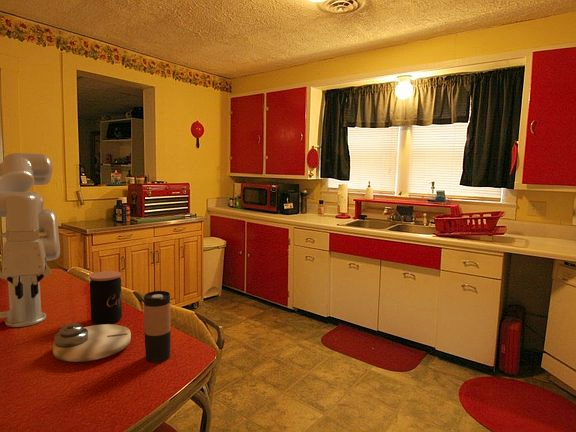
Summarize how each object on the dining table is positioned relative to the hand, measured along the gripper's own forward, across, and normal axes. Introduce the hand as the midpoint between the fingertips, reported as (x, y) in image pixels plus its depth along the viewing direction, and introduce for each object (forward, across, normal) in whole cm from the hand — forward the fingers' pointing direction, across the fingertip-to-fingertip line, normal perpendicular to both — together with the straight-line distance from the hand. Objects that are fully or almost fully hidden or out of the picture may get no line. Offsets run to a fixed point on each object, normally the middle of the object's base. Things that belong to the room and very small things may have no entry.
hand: (27, 296), depth 111 cm
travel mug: (+19, +36, -12) cm, 43 cm away
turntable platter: (+17, +17, 0) cm, 24 cm away
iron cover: (+15, +11, 0) cm, 19 cm away
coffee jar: (+19, +19, +24) cm, 36 cm away
